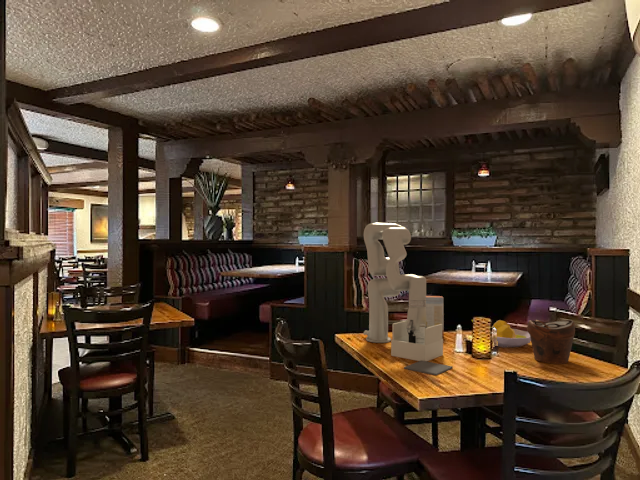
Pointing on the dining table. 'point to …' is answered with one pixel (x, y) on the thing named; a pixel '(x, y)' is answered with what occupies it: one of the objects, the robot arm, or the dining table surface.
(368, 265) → the robot arm
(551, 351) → the brown flower pot
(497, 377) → the dining table surface
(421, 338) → the syrup box
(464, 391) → the dining table surface
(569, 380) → the dining table surface
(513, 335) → the fruit bowl
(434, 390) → the dining table surface
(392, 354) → the carton
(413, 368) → the mat
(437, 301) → the cracker box
